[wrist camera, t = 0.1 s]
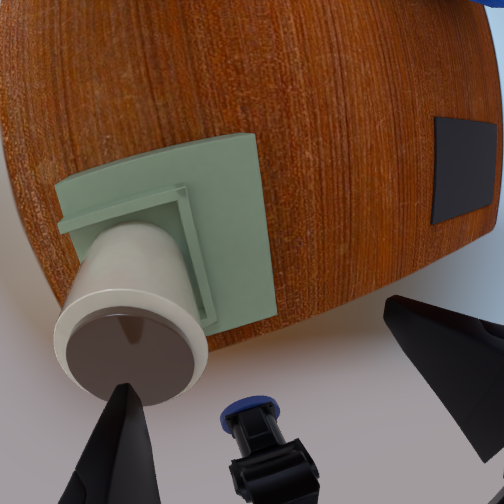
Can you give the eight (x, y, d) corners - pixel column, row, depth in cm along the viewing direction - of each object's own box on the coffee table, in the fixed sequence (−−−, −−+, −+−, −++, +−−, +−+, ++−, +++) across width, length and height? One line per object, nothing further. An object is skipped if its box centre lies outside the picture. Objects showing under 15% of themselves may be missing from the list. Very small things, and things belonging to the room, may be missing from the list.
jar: (196, 300, 18) (226, 396, 11) (107, 324, 16) (98, 423, 10) (172, 207, 15) (187, 275, 8) (70, 237, 13) (21, 319, 7)
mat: (490, 203, 29) (491, 203, 29) (430, 223, 26) (432, 224, 26) (494, 124, 24) (496, 124, 24) (434, 116, 21) (436, 117, 21)
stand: (263, 292, 23) (284, 325, 19) (126, 330, 20) (124, 369, 17) (240, 132, 17) (263, 134, 13) (69, 175, 15) (46, 190, 11)
